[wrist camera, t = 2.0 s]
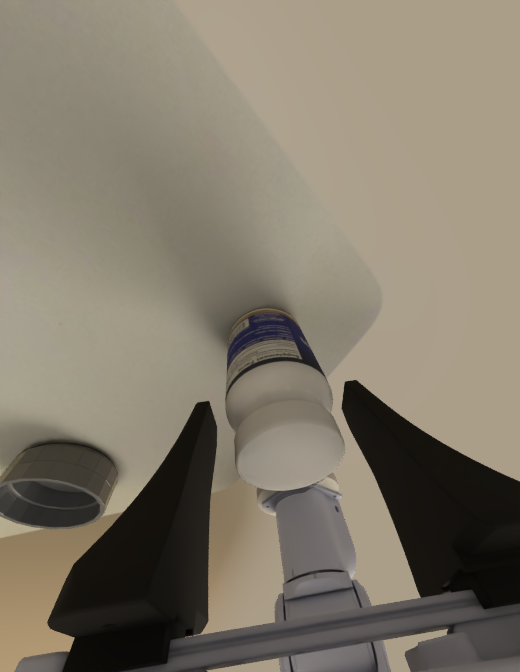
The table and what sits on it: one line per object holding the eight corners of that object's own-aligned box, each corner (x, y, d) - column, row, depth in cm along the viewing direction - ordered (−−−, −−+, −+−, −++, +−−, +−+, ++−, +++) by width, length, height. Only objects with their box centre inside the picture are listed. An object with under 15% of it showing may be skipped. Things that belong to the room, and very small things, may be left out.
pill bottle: (302, 361, 20) (353, 486, 11) (236, 373, 20) (236, 506, 11) (298, 298, 17) (364, 403, 8) (220, 312, 17) (204, 431, 8)
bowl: (134, 458, 24) (120, 495, 21) (100, 498, 27) (83, 535, 24) (34, 427, 21) (-1, 466, 18) (7, 477, 24) (-25, 517, 21)
